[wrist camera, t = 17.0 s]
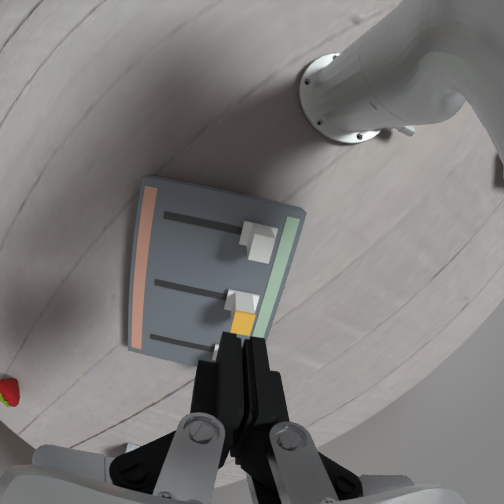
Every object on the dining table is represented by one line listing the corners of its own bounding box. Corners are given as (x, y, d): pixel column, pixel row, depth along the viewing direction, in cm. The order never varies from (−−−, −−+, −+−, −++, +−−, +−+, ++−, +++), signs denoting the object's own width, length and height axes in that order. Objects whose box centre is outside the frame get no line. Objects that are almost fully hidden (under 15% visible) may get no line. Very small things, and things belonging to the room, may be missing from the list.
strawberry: (22, 393, 48) (7, 418, 38) (3, 372, 45) (-15, 395, 36) (30, 388, 47) (13, 415, 38) (9, 366, 45) (-10, 391, 35)
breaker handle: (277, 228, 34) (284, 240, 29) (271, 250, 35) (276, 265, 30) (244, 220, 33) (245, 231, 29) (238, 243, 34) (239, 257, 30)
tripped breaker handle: (259, 294, 37) (263, 316, 32) (253, 313, 37) (256, 337, 32) (228, 288, 36) (227, 310, 31) (224, 308, 37) (222, 331, 32)
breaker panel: (301, 207, 37) (306, 212, 34) (253, 363, 45) (254, 376, 42) (149, 174, 34) (141, 176, 31) (133, 339, 42) (127, 350, 39)
